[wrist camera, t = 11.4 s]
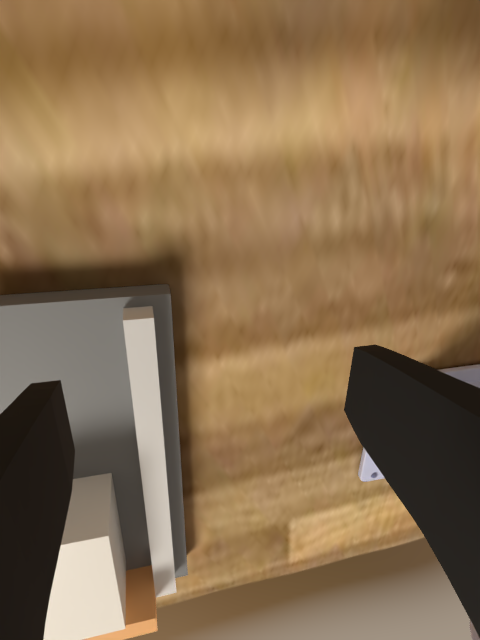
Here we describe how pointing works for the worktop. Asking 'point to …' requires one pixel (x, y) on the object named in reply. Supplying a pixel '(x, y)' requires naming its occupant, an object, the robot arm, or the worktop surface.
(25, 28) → the worktop surface
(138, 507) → the rail mount board
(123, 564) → the block
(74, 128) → the worktop surface
